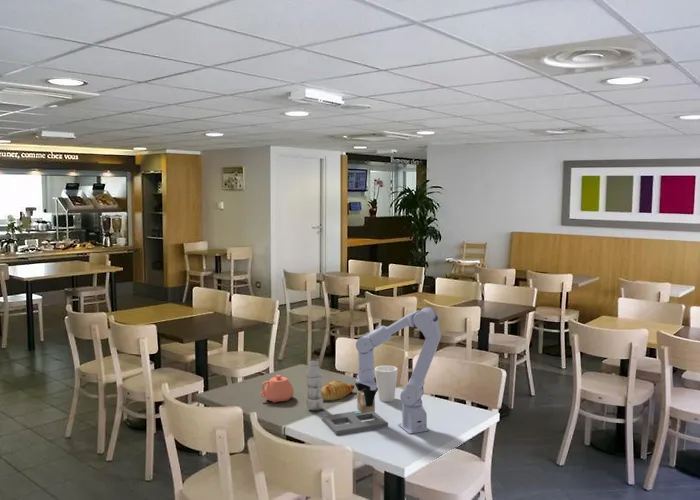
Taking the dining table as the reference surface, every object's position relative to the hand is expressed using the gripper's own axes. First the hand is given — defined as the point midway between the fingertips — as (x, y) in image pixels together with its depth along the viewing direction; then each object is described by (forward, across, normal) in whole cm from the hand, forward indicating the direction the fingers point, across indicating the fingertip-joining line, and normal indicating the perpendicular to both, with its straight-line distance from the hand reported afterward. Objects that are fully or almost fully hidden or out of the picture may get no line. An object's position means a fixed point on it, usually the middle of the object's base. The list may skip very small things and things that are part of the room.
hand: (366, 403), depth 226 cm
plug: (+2, 0, 0) cm, 3 cm away
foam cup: (+7, -20, +17) cm, 27 cm away
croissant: (+7, -32, -2) cm, 33 cm away
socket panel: (+7, 0, -5) cm, 8 cm away
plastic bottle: (+7, -20, -14) cm, 25 cm away
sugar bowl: (+7, -38, -25) cm, 46 cm away
